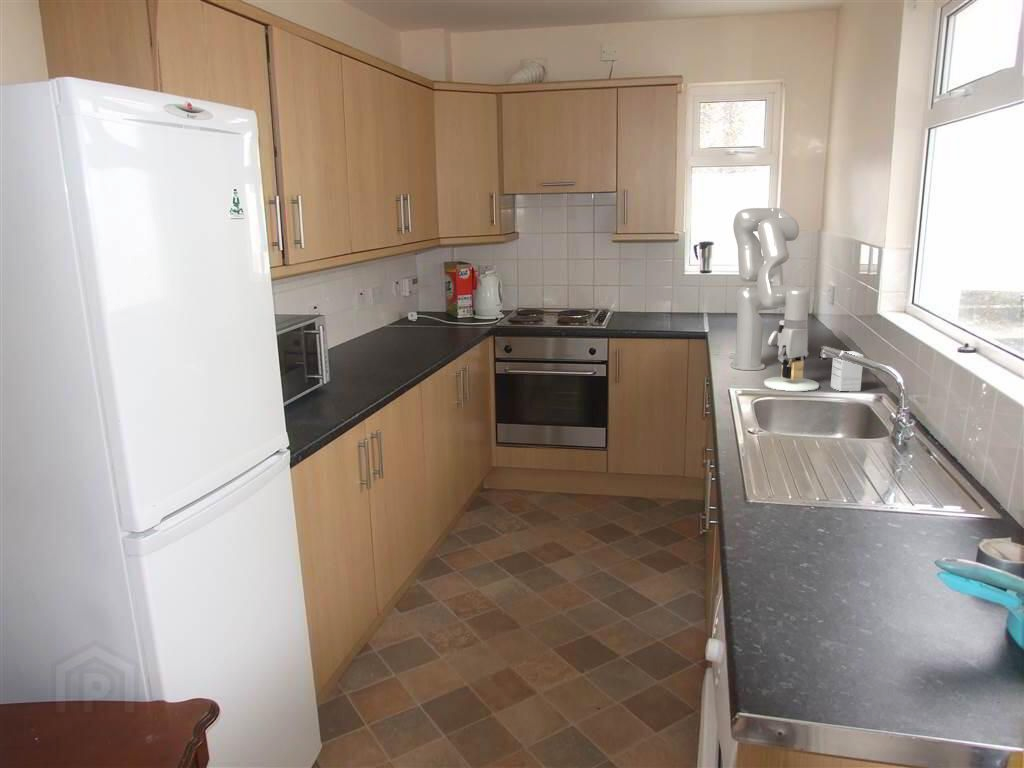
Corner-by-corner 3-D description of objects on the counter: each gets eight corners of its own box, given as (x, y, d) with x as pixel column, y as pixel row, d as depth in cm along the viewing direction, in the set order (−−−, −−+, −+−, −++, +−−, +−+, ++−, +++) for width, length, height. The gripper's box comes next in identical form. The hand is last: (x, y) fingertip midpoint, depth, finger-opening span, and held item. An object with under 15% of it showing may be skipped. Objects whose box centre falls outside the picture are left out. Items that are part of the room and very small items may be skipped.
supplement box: (850, 386, 265) (854, 350, 262) (860, 391, 258) (864, 354, 255) (829, 386, 265) (832, 351, 262) (839, 392, 258) (842, 355, 255)
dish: (752, 384, 270) (753, 381, 269) (786, 377, 279) (787, 374, 279) (795, 394, 255) (795, 391, 254) (829, 387, 264) (830, 384, 264)
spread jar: (797, 350, 327) (799, 323, 324) (769, 349, 329) (771, 322, 327) (792, 345, 339) (794, 318, 336) (766, 344, 341) (767, 318, 338)
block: (781, 377, 267) (782, 360, 265) (790, 375, 269) (791, 358, 268) (793, 380, 263) (794, 362, 261) (802, 378, 265) (803, 361, 264)
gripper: (802, 320, 269) (798, 371, 273) (769, 325, 260) (766, 377, 265) (820, 323, 263) (816, 375, 267) (788, 328, 254) (784, 381, 258)
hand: (791, 375), depth 266 cm, fingers closed on block, 5 cm apart
